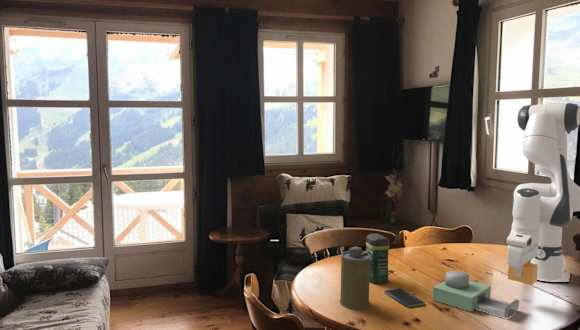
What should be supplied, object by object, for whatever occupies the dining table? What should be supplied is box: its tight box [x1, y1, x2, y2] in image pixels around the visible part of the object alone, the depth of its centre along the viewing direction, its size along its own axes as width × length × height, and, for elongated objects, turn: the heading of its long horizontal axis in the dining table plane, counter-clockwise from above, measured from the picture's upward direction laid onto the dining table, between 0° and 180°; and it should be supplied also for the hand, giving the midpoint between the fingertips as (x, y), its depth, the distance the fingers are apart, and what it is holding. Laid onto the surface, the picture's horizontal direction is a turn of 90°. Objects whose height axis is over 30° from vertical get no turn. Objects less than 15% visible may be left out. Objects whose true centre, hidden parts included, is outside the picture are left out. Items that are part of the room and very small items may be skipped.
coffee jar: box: [365, 233, 390, 284], centre depth 184 cm, size 10×8×19 cm
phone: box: [383, 288, 426, 309], centre depth 166 cm, size 8×1×15 cm
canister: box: [339, 245, 371, 310], centre depth 161 cm, size 11×10×20 cm
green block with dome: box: [432, 270, 492, 312], centre depth 165 cm, size 16×14×9 cm
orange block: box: [507, 262, 538, 286], centre depth 162 cm, size 5×8×6 cm, turn 45°
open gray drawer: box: [475, 296, 520, 320], centre depth 156 cm, size 10×11×4 cm
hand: (522, 273), depth 162 cm, fingers closed on orange block, 5 cm apart
